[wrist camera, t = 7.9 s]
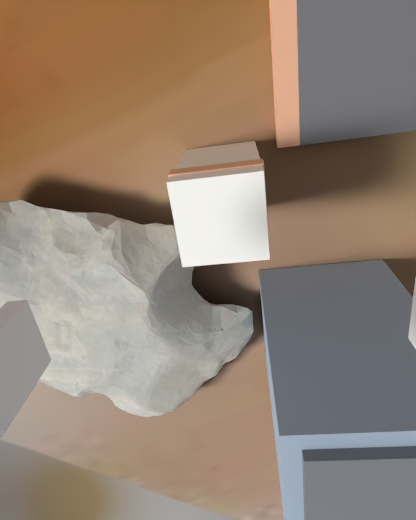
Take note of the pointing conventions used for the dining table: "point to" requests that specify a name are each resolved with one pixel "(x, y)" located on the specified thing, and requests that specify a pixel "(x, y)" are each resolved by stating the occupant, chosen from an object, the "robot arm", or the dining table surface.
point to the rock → (115, 307)
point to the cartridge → (220, 205)
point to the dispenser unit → (341, 390)
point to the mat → (342, 69)
